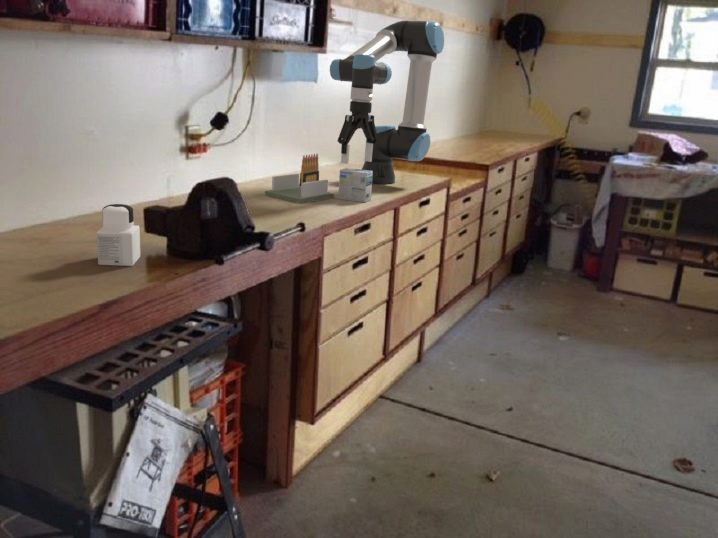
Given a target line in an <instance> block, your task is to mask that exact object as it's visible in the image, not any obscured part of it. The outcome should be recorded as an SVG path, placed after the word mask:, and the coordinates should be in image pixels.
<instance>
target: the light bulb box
mask: <svg viewBox="0 0 718 538" xmlns="http://www.w3.org/2000/svg"><path fill="white" fill-rule="evenodd" d="M372 174H373V171H368V170H362V169H357V168H349V167H345V168H341V169H339V175H338V176H339V177H338V178H339V179H338V180H339V181H338V197H337V199H338V200H345V201H351V202H357V203H359V202H360V203H367V202H369V201H371V200H372V187H373V186H372V185H373V183H372Z"/></svg>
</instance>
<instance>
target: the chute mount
mask: <svg viewBox="0 0 718 538" xmlns="http://www.w3.org/2000/svg"><path fill="white" fill-rule="evenodd" d="M271 179H272V181H271V189H269V190H268V189H267V190H264V196H268V197H271V198H276V199H280V200H285V201H288V202H293V203H297V204H306V203H310V202H316V201H322V200H328V199H334V198H335V196H334V195H335V193H334V192H329V191H328V189H329V179H319V181H312V182H305V183H302V185H301V186H300V173H290V174H284V175H283V174H282V175H275V176H272V178H271Z"/></svg>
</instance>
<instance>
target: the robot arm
mask: <svg viewBox="0 0 718 538" xmlns="http://www.w3.org/2000/svg"><path fill="white" fill-rule="evenodd" d="M444 47H445V35H444V31H443V27H442V25H440V23H439V22H436V21H430V20H400V21H397V22H394V23H392V24H389V25H388V26H386V27H384V28H382V29H380V30H378V32H377V33H376V35H375V37H373V38H372V39H371V40H369V41H368V42H367V43H366V44H364V45H362V46H361V47H360V48H358V49H357V50H356V51H354V52H352V53H351V54H349V56H346V57H345V58H342V59H341V58H336V59H333V60H332V61H331V62H330V65H329V76H330V77H331V78H332V80H334V81H340V82H349V83H351V87H350V100H351V101H349V112H351V115H350V114H345V117H344V121H343V125H342V127H341V130H340V131H339V135H338V138H337V142H338V143H339V144H341V147H340V149H341V150H340V153H341V156H340V157H341V158H340V164H344V165H345V164H346V165H349V159H350V149H351V148H350V144H349V143H350V142H351V140H352V138H353V136H354V134H355V132H356V131H358V129H361V130H362V132H363V135H364V137H365V149H364V159H363V160H364V163H363V165H362V167H361V170H368V171H373V174H372V184H379V185H384V184H385V185H390V184H389V183H391V184H394V183H396V173H395V169H394V167H393V166H394V165H393V162H394V161H393V159H398V160H405V161H408V162H421V161H423V159H425V157H426V156H427V155H428V152H429V150H430V147H431V136H430V133H428V132H427V131H428V129H427V127H426V125H425V124H424V123H425V115H426V111H427V110H426V108H427V102H428V93H429V88H430V80H431V71H432V64H433V62H435V61H436V60H437V56H438V55H439V54H441V53H442V52H443V49H444ZM394 52H407V57H408V59H409V61H410V63H409V69H408V75H407V76H408V78H407V84H406V85H407V86H406V93H405V98H404V99H405V101H404V108H403V115H402V121H401V122H400V123H399V124H398V125H397V129H396V125H375V115H373V114H371V113H372V105H373V103H372V102H371V101H373V92H374V91H373V90H374V85H380V86H381V85H386V84H387V83H388V82H389V81H390V80H391V78H392V75H393V74H392V67H391V66H390V65H389V64H387V62H386V63H385V62H384V61H383V62H382V61H378V60H380V59H382V58H383V57H385V55H390V54H393V53H394Z"/></svg>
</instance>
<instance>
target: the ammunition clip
mask: <svg viewBox="0 0 718 538" xmlns="http://www.w3.org/2000/svg"><path fill="white" fill-rule="evenodd" d="M301 161H302V162H301V167H300V168H301V170H300V173H299V186H301V185H302V183H305V182H312V181H319V180H320V171H319V168H320V167H319V166H320V165H319V154H318V153H314V154H311V155H310V154H306V155H303V156H302V160H301Z"/></svg>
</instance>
